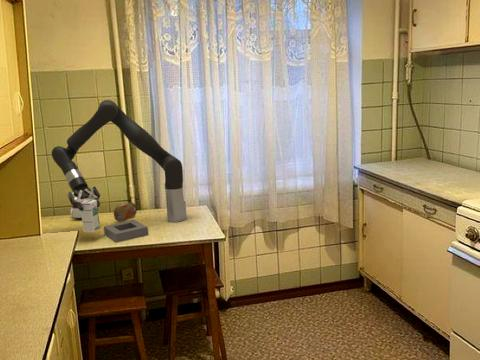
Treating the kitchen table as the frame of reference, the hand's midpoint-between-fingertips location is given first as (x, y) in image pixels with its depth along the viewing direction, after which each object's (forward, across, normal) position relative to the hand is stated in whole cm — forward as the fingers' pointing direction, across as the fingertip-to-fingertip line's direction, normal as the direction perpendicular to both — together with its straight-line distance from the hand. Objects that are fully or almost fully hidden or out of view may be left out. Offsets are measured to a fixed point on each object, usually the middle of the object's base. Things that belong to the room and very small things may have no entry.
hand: (90, 208), depth 235 cm
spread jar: (-18, +14, +41) cm, 47 cm away
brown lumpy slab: (-1, +28, +24) cm, 37 cm away
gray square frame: (+15, +14, +7) cm, 22 cm away
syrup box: (+7, 0, +9) cm, 11 cm away
